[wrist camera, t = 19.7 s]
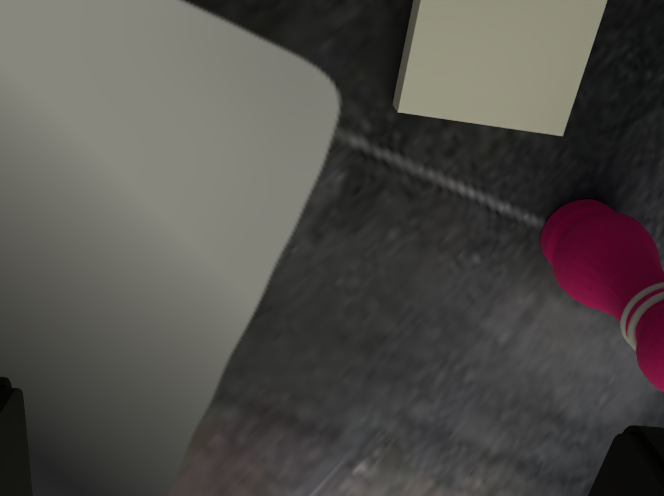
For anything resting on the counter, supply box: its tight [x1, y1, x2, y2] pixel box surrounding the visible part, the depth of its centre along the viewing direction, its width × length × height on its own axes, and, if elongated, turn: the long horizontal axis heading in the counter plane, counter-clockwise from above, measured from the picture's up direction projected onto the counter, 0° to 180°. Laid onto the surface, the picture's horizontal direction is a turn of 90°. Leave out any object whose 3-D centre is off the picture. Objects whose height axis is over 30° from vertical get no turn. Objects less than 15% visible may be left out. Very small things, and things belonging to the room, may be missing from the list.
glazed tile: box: [393, 0, 607, 136], centre depth 41 cm, size 3×12×12 cm
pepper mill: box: [541, 199, 664, 393], centre depth 40 cm, size 7×7×20 cm
